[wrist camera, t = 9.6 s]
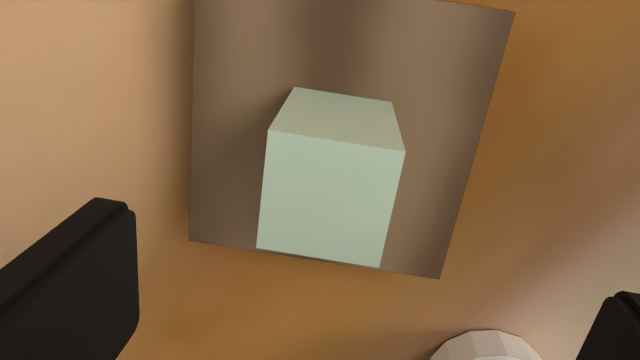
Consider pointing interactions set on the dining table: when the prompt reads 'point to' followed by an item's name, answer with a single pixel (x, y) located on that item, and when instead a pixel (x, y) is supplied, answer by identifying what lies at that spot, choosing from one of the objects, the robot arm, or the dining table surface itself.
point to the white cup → (486, 347)
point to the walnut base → (349, 79)
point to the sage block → (330, 177)
